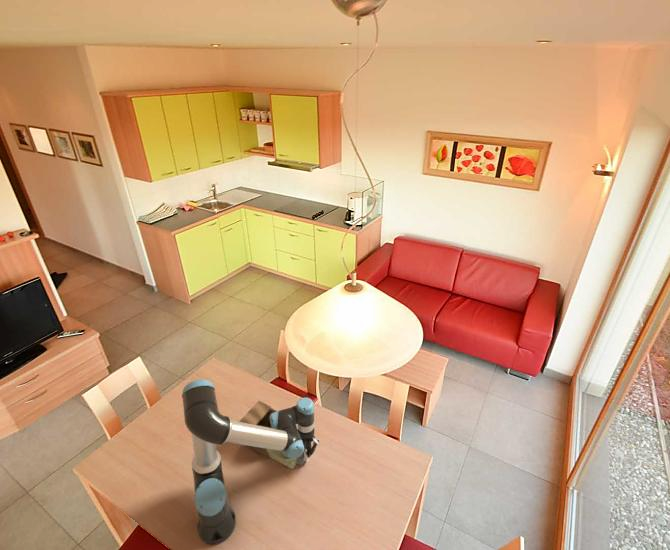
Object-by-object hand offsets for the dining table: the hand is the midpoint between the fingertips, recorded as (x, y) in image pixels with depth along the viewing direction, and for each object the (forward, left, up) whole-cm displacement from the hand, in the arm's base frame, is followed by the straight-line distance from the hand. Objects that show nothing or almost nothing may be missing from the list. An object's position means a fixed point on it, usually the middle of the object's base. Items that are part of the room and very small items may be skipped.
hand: (307, 459), depth 187 cm
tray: (0, +11, -1) cm, 11 cm away
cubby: (0, +26, -2) cm, 26 cm away
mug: (0, +12, -1) cm, 12 cm away
